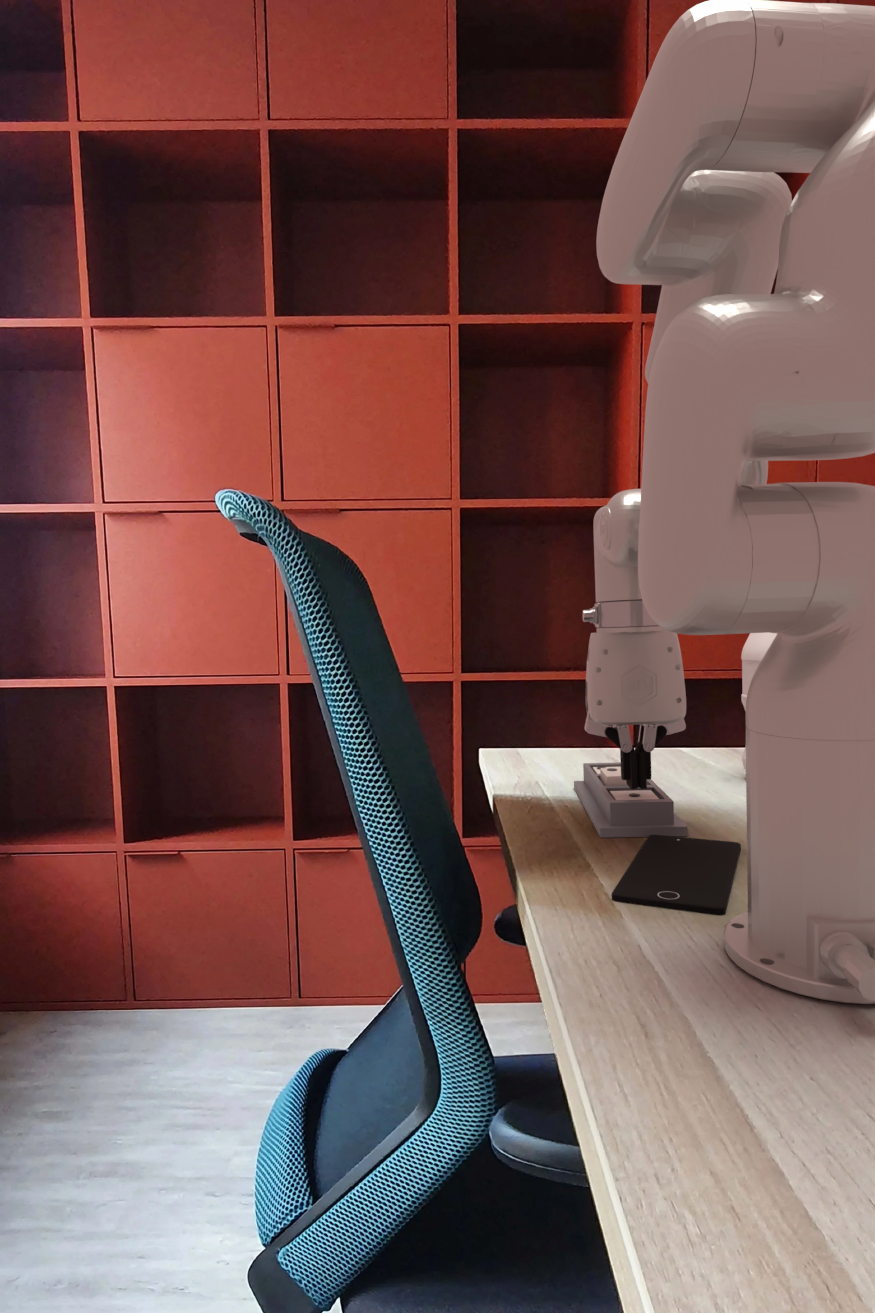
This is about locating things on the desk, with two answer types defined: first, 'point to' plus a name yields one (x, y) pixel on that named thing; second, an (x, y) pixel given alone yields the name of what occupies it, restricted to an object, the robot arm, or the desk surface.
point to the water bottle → (753, 663)
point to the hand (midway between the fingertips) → (636, 786)
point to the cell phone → (681, 874)
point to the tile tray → (626, 808)
